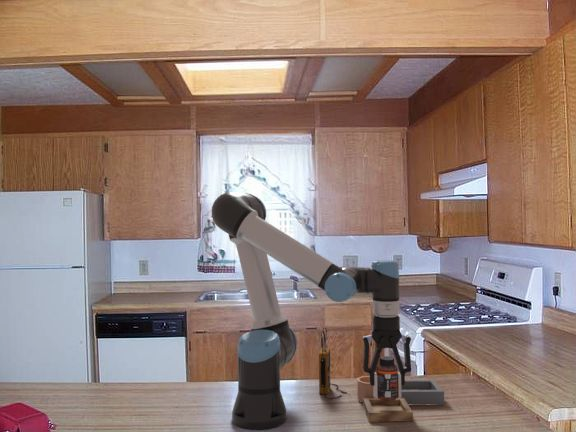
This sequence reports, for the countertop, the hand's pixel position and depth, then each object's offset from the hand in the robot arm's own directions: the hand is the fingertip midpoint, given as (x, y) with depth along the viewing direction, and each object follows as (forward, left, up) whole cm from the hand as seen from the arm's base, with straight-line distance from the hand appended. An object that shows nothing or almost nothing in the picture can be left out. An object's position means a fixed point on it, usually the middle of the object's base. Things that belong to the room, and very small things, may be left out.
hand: (387, 396), depth 145 cm
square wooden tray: (0, 0, -5) cm, 5 cm away
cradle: (+10, +12, -5) cm, 16 cm away
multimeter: (-13, +19, -5) cm, 23 cm away
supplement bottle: (0, 0, -1) cm, 1 cm away
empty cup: (-4, +12, -5) cm, 13 cm away
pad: (+10, +12, -4) cm, 16 cm away
